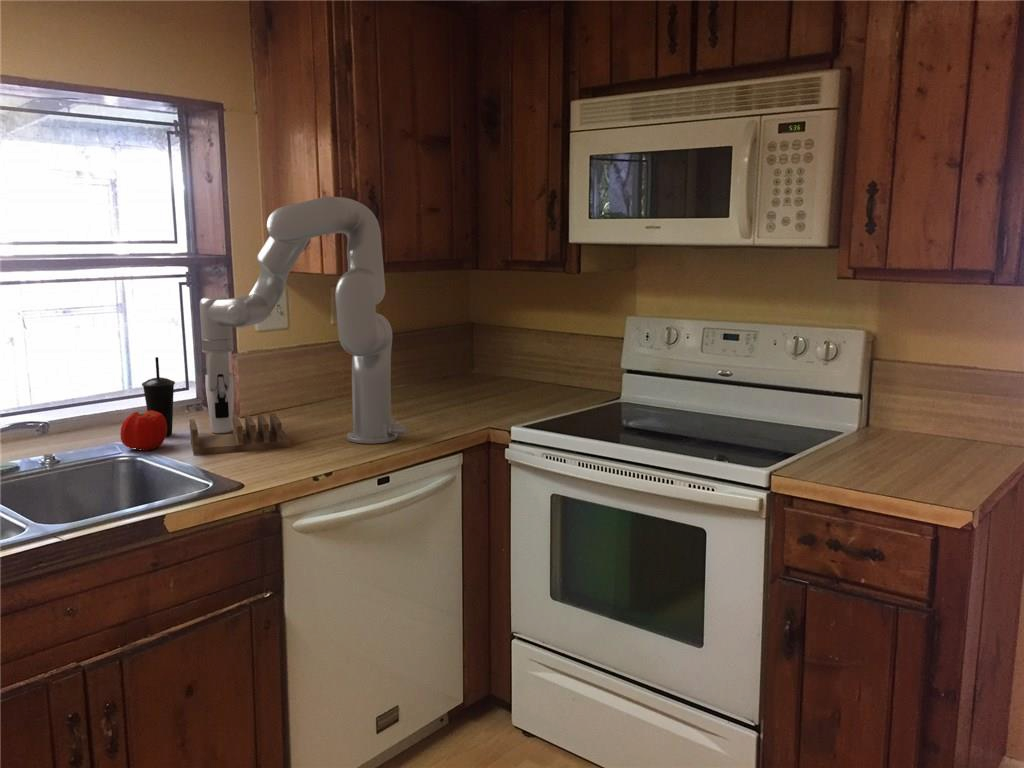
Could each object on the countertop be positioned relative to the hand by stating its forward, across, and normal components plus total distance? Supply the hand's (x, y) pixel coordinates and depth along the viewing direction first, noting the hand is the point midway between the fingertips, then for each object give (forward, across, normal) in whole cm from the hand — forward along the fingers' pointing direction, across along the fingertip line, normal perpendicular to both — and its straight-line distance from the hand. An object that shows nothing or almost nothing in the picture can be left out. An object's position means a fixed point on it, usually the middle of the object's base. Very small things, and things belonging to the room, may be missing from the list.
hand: (221, 414), depth 220 cm
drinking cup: (+5, -1, -14) cm, 15 cm away
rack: (+5, +16, +3) cm, 17 cm away
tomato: (+5, +11, -18) cm, 22 cm away
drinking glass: (+5, 0, 0) cm, 5 cm away
